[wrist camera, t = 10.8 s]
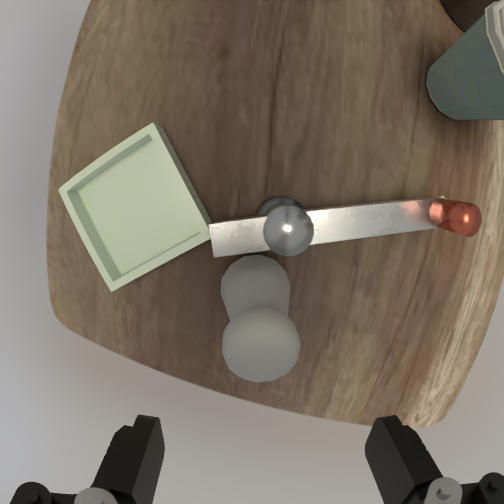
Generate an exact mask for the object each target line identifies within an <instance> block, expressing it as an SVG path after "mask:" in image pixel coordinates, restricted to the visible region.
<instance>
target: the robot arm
mask: <svg viewBox="0 0 504 504" xmlns="http://www.w3.org/2000/svg"><path fill="white" fill-rule="evenodd" d="M164 451H165V446H164V439H163V434H162V429H161V424H160V419H159V418H158V417H151V416H145V415H138V416H137V418H136V420H135V423H134V425H133V427H131V426H126V425H124V426H123V427H122V428H120V430H118V431H117V432H116V433H115V434H114V436H113V438H112V441H111V443H110V446H109V447H108V450H107V453H106V454H105V456H104V459H103V461H102V463H101V465H100V468H99V470H98V472H97V475H96V477H95V479H94V482H93V484H92V485H91V487H90V488H87V489H84V490H82V491H81V492H79V493H78V494H73V495H72V494H58V493H50V492H49V491H48V489H47V488H46V487H45V486H43V485H42V484H40V483H36V482H27V483H24V484H22V485H21V486H19V487H18V488H17V490H16V492H15V494H14V496H13V498H12V500H11V502H10V504H152V502H153V498H154V494H155V490H156V486H157V482H158V478H159V474H160V470H161V466H162V462H163V458H164ZM365 455H366V458H367V461H368V463H369V466H370V468H371V471H372V473H373V476H374V478H375V481H376V484H377V486H378V489H379V491H380V494H381V496H382V499H383V502H384V504H504V476H503V475H501V474H499V473H494V472H493V473H488V474H486V475H485V476H483V478H482V479H481V480H480V481H479V482H478V483H470V484H459V483H458V482H457V481H455V480H454V479H452V478H447V477H443V475H442V474H441V472H440V471H439V469H438V467H437V466H436V464H435V462H434V460H433V459H432V457H431V455H430V454H429V452H428V451H427V450H426V447H425V445H424V444H423V443H422V440H421V439H420V437H419V435H418V434H417V433H416V431H414V430H413V429H412V428H410V427H409V426H408V425H405V426H403V425H402V423H401V421H400V420H399V418H398V417H397V416H396V415H392V416H386V417H380V418H377V419H376V420H375V422H374V424H373V427H372V429H371V432H370V434H369V437H368V439H367V441H366V444H365Z"/></svg>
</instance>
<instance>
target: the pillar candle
mask: <svg viewBox="0 0 504 504" xmlns="http://www.w3.org/2000/svg"><path fill="white" fill-rule="evenodd" d="M440 1H441V4H442V5H443V7H444V9H445V10H446V12H447V13H448V15H449V16H450V17H451V18H452V20H453V21H454V22H455V23H456V24H457V26H458V27H459V28H460V29H461V30H463V31H464V32H467V31H468V30H469V29H470V28H471V27H472V26H473V25H474V24H475V23H476V22H477V21H478V20H479V19H480V18H481V17H482V16H483V15H484V14H485V9H486V8H487V7H488V6H490V5H491V4H492V3H494V2H495V1H496V2H498V1H500V0H440Z"/></svg>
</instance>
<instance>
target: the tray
mask: <svg viewBox="0 0 504 504" xmlns="http://www.w3.org/2000/svg"><path fill="white" fill-rule="evenodd" d="M58 190H59V192H60V194H61V197H62V199H63V201H64V203H65V206H66V208H67V210H68V212H69V214H70V216H71V218H72V220H73V222H74V224H75V226H76V228H77V230H78V232H79V234H80V236H81V238H82V240H83V242H84V244H85V246H86V248H87V250H88V252H89V254H90V255H91V257H92V259H93V261H94V263H95V265H96V266H97V268H98V270H99V272H100V273H101V275H102V277H103V279H104V280H105V282H106V284H107V286H108V287H109V289H110V291H111V292H112V291H114V290H116V289H118V288H120V287H121V286H123V285H125V284H127V283H129V282H130V281H132V280H134V279H136V278H138V277H140V276H141V275H143V274H145V273H147V272H149V271H151V270H152V269H154V268H156V267H158V266H160V265H162V264H163V263H165V262H167V261H169V260H171V259H173V258H175V257H176V256H178V255H180V254H182V253H184V252H186V251H188V250H190V249H192V248H193V247H195V246H197V245H199V244H201V243H203V242H205V241H207V240H209V239H211V236H210V229H209V224H210V222H212V221H211V219H210V217H209V215H208V214H207V212H206V210H205V208H204V206H203V204H202V202H201V200H200V199H199V197H198V195H197V193H196V191H195V189H194V187H193V185H192V183H191V181H190V180H189V178H188V176H187V174H186V172H185V170H184V168H183V166H182V164H181V162H180V160H179V158H178V156H177V155H176V153H175V151H174V149H173V147H172V145H171V143H170V141H169V139H168V137H167V135H166V133H165V131H164V129H163V128H162V127H160V126H159V125H157V124H155V123H154V122H153V123H151V124H149V125H148V126H146V127H144V128H143V129H141V130H140V131H138V132H137V133H135V134H133V135H132V136H130V137H129V138H127V139H126V140H124V141H123V142H121V143H120V144H118V145H117V146H115V147H114V148H112V149H111V150H109V151H108V152H107V153H105V154H104V155H102V156H101V157H99V158H98V159H97V160H95V161H94V162H93V163H91V164H90V165H88V166H87V167H86V168H84V169H83V170H82V171H80V172H79V173H78V174H77V175H75V176H74V177H73V178H71V179H70V180H69V181H68V182H66V183H65V184H64V185H63V186H61V187H60V188H59V189H58Z"/></svg>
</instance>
